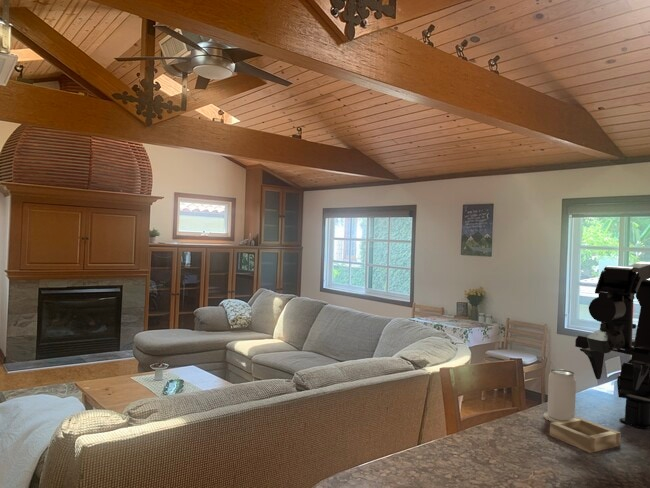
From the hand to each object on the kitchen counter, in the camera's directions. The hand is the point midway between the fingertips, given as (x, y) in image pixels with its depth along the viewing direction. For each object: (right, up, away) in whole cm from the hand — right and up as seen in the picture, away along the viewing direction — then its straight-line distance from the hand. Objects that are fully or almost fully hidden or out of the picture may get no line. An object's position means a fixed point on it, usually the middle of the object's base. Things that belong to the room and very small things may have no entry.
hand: (616, 384), depth 118 cm
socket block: (-9, -13, -2) cm, 15 cm away
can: (-8, -12, +12) cm, 19 cm away
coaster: (-8, -13, +12) cm, 19 cm away
